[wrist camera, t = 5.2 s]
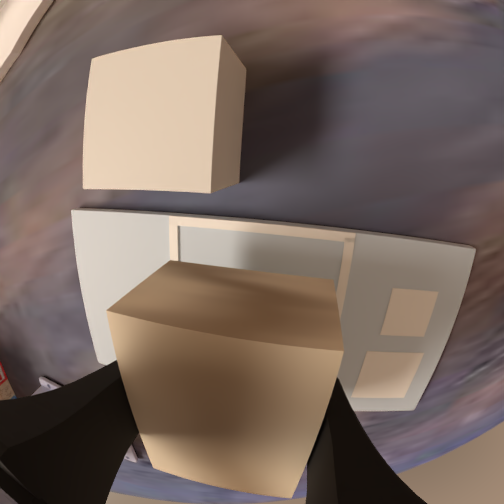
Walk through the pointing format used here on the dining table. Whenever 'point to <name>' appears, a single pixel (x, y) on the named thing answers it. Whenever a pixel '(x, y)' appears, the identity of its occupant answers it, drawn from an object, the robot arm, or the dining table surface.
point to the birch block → (229, 371)
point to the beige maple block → (165, 117)
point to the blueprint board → (301, 264)
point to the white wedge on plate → (17, 28)
